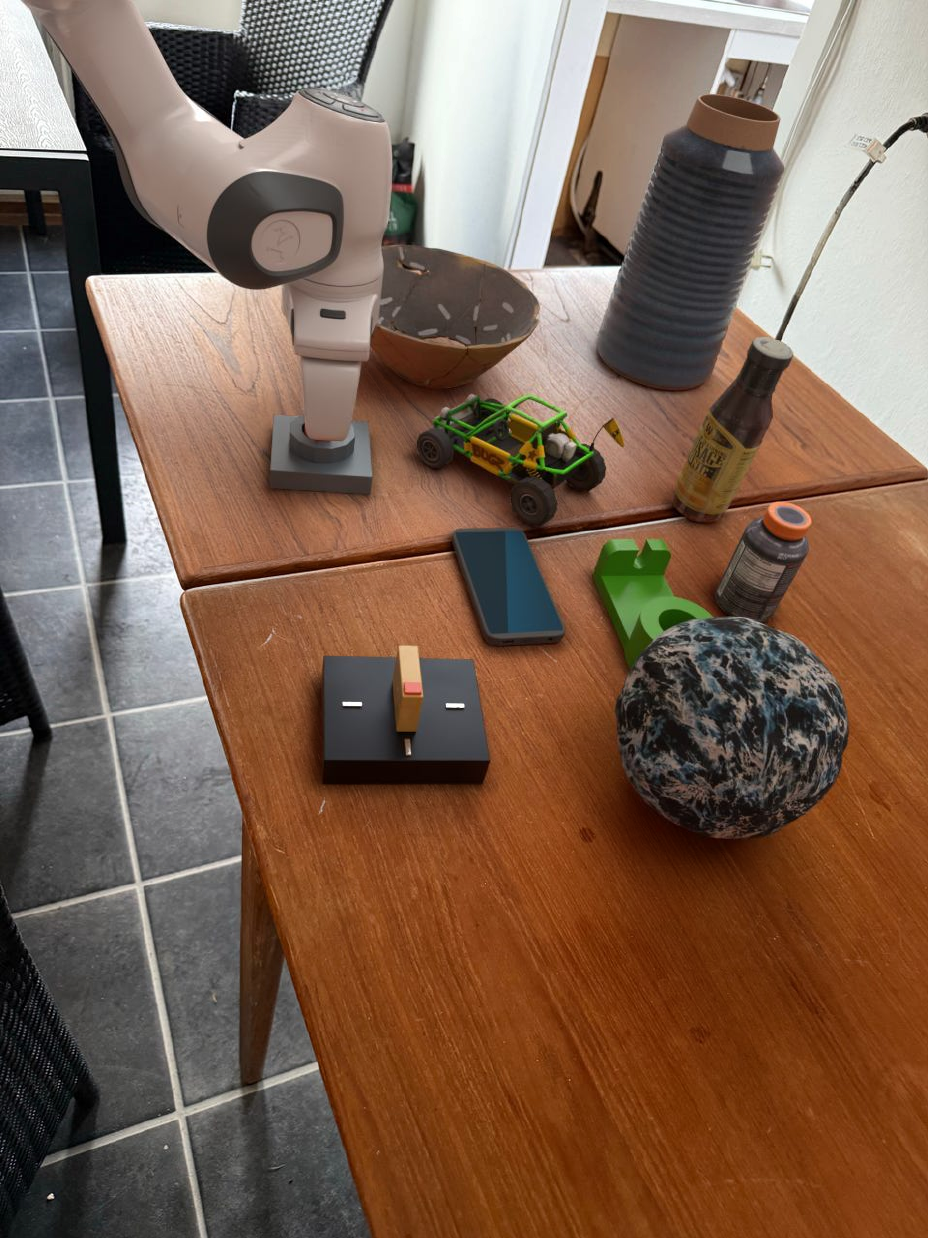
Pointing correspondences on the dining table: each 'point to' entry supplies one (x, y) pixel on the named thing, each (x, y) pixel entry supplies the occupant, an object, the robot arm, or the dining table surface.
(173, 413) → the dining table surface
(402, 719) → the thumb turn
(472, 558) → the smartphone
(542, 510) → the motor vehicle
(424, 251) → the bowl
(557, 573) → the dining table surface
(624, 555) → the tape dispenser
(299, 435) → the grey button base
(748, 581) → the pill bottle
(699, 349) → the vase
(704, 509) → the sauce bottle
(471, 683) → the plate
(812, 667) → the decorative stone
